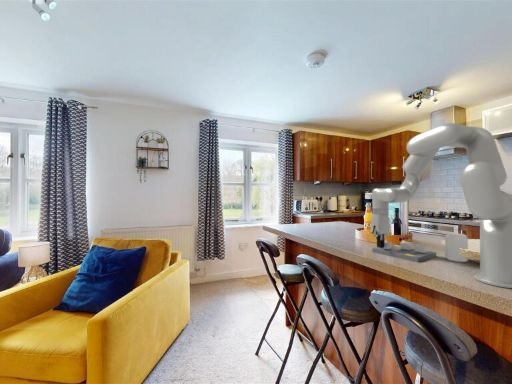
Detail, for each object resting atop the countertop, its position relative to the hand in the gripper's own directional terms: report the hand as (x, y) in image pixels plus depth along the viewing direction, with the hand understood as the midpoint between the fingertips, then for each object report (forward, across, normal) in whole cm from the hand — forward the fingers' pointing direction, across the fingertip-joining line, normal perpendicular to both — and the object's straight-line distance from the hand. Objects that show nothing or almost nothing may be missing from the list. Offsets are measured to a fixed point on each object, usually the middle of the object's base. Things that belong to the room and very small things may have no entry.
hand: (380, 247), depth 125 cm
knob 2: (+1, -11, +7) cm, 13 cm away
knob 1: (+1, -4, 0) cm, 5 cm away
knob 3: (+1, -11, +14) cm, 18 cm away
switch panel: (+3, -8, +7) cm, 11 cm away
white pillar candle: (+3, -17, +26) cm, 31 cm away
